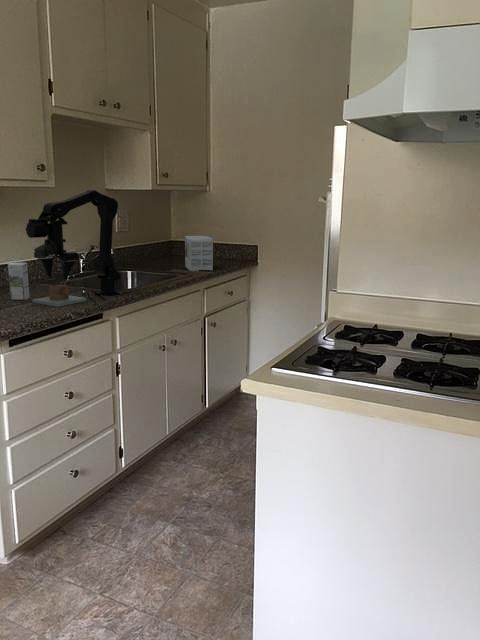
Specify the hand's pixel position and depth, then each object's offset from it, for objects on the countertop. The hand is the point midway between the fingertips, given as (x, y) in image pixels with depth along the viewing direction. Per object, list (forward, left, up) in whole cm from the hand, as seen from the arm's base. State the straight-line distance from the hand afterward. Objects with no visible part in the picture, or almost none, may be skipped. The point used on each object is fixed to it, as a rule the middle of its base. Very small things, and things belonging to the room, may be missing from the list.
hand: (57, 277), depth 213 cm
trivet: (0, 0, -10) cm, 10 cm away
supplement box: (-112, -14, -10) cm, 114 cm away
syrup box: (+5, -17, -10) cm, 20 cm away
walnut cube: (0, 0, -8) cm, 8 cm away
